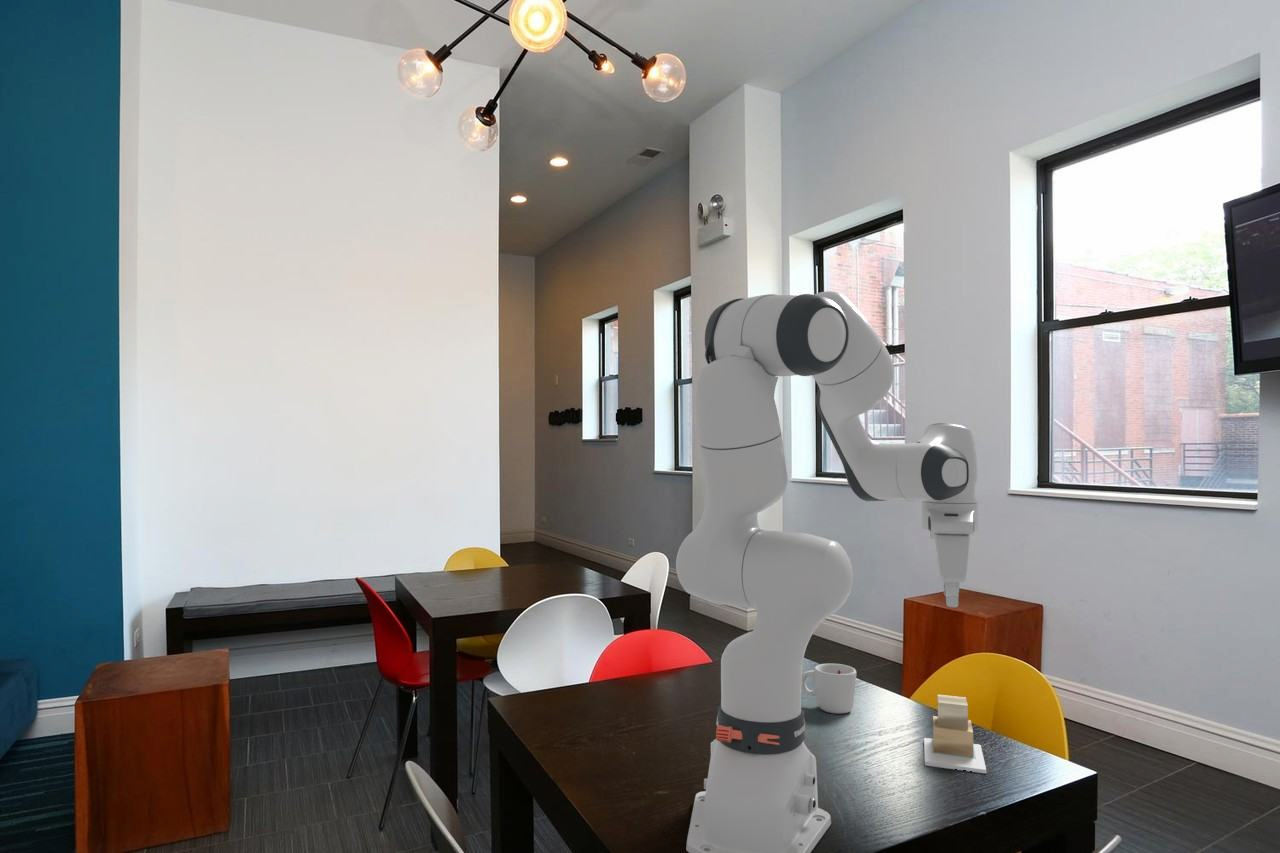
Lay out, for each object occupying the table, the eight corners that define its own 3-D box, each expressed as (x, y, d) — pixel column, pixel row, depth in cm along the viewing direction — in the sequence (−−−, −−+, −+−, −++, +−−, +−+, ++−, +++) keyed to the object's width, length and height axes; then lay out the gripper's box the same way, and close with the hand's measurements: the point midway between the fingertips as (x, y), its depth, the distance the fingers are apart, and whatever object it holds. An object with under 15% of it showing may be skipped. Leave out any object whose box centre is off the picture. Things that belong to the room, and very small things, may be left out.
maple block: (968, 730, 123) (967, 705, 123) (938, 726, 124) (938, 702, 124) (966, 721, 127) (965, 697, 127) (937, 718, 128) (937, 694, 129)
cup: (795, 710, 146) (795, 669, 146) (806, 698, 153) (806, 659, 153) (851, 719, 141) (851, 676, 141) (860, 707, 148) (860, 666, 148)
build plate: (986, 773, 117) (986, 769, 117) (924, 765, 120) (924, 761, 120) (980, 748, 127) (980, 744, 127) (924, 741, 130) (924, 737, 130)
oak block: (973, 757, 122) (973, 732, 122) (934, 752, 124) (933, 727, 124) (971, 744, 127) (970, 720, 127) (933, 739, 129) (933, 716, 129)
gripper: (928, 514, 138) (929, 589, 137) (931, 523, 119) (932, 611, 118) (965, 515, 136) (967, 592, 135) (974, 524, 117) (975, 614, 116)
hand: (950, 601), depth 126 cm, fingers open, 8 cm apart
